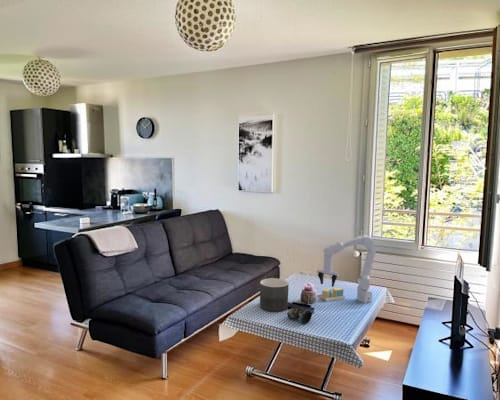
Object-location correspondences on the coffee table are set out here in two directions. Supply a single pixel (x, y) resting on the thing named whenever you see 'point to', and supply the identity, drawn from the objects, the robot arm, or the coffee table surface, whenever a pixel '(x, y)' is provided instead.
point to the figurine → (300, 314)
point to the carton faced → (337, 292)
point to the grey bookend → (332, 297)
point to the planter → (274, 294)
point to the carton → (326, 293)
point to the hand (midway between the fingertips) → (327, 285)
